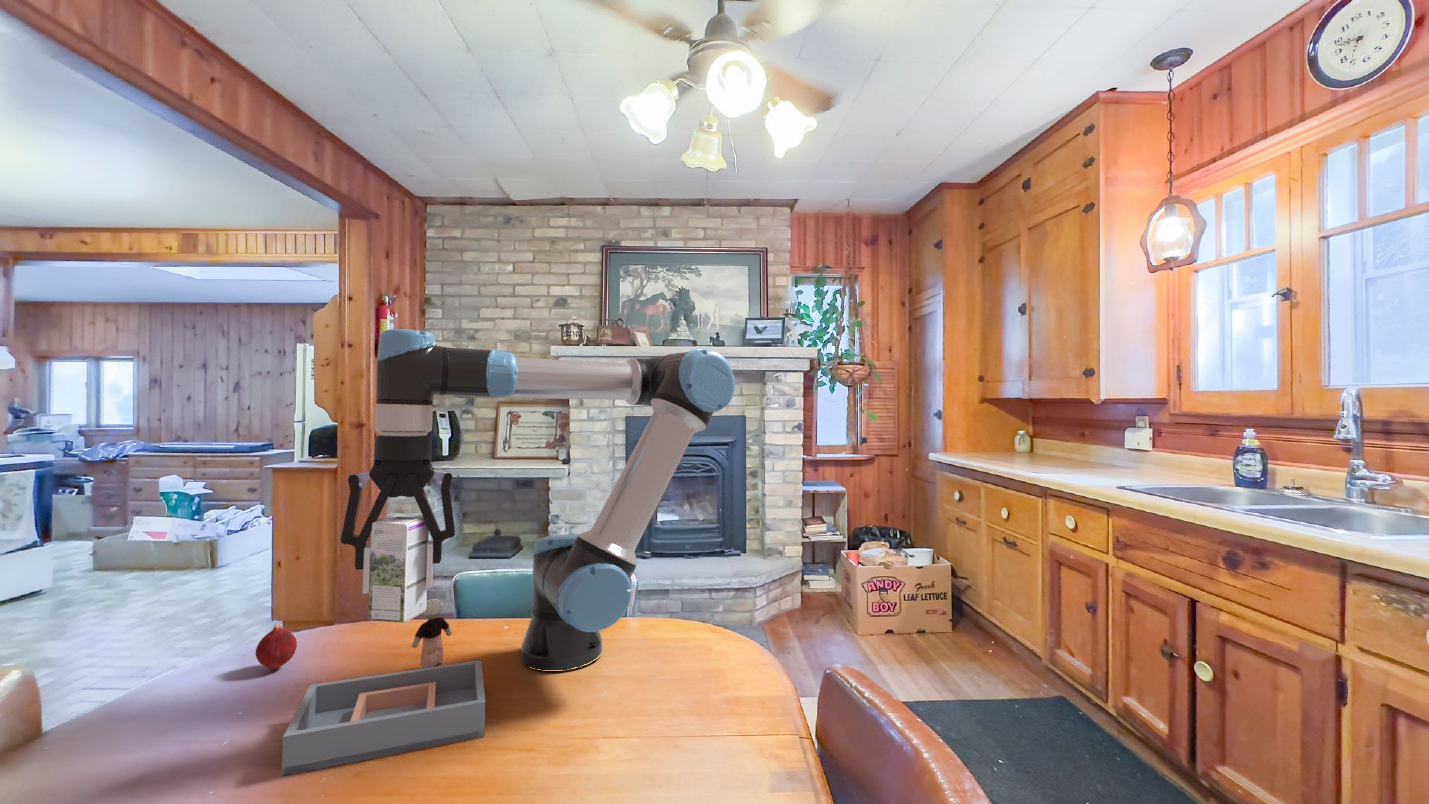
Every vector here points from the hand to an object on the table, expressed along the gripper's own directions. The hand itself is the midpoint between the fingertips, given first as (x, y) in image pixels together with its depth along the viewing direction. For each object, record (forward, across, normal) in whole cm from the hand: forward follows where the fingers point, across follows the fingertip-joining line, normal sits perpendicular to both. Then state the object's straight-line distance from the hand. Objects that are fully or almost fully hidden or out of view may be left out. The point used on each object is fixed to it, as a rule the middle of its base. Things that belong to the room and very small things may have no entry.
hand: (398, 587), depth 85 cm
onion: (+21, +21, -28) cm, 41 cm away
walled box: (+21, 0, 0) cm, 21 cm away
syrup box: (+4, 0, 0) cm, 4 cm away
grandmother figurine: (+21, -4, -18) cm, 28 cm away
